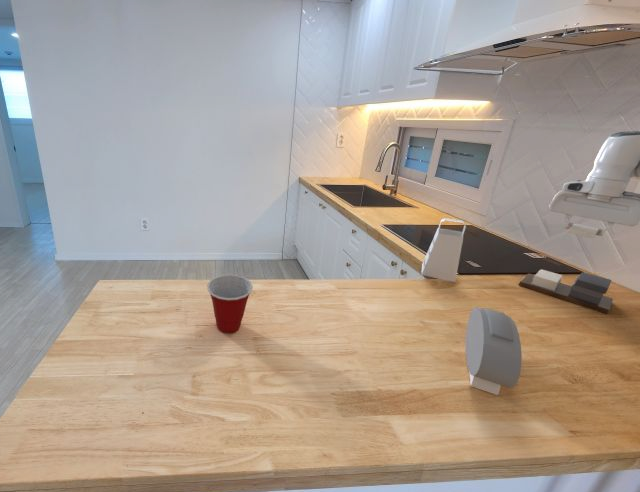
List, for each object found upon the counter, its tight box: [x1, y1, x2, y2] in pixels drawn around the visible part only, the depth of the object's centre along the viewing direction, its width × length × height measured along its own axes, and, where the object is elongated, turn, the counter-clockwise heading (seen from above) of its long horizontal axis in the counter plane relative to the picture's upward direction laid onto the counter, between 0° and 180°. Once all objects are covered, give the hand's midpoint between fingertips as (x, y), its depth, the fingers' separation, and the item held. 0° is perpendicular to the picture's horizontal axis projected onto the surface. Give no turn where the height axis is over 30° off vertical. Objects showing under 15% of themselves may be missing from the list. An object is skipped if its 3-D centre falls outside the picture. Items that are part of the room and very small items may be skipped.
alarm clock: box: [464, 306, 523, 396], centre depth 73 cm, size 23×6×13 cm, turn 151°
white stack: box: [532, 268, 564, 291], centre depth 115 cm, size 6×10×3 cm, turn 130°
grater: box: [421, 217, 467, 283], centre depth 118 cm, size 10×10×20 cm
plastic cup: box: [206, 274, 254, 334], centre depth 81 cm, size 11×11×12 cm
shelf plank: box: [518, 273, 614, 314], centre depth 112 cm, size 22×12×2 cm, turn 40°
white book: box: [567, 223, 600, 239], centre depth 106 cm, size 6×10×2 cm, turn 130°
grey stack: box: [568, 271, 612, 305], centre depth 107 cm, size 7×10×6 cm
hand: (582, 231), depth 106 cm, fingers closed on white book, 6 cm apart
